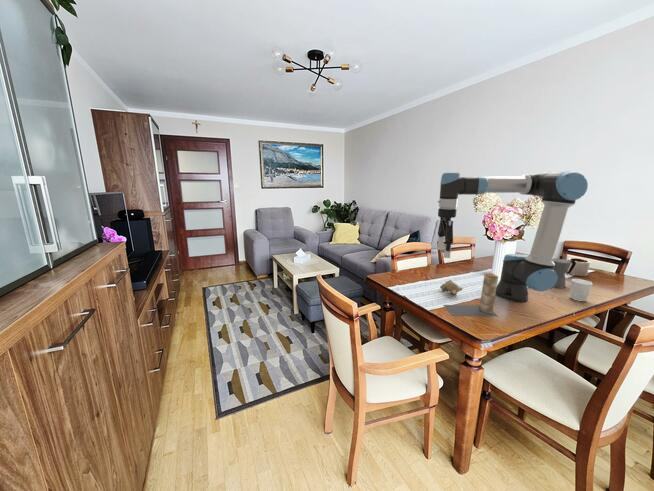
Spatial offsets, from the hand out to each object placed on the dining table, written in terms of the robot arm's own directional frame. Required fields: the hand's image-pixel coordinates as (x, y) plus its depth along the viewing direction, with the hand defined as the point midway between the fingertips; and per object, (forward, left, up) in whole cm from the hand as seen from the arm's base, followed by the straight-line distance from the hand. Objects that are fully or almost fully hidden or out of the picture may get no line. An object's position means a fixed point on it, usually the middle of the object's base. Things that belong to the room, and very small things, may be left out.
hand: (443, 253), depth 129 cm
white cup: (-77, -11, -27) cm, 83 cm away
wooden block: (-21, +4, -27) cm, 34 cm away
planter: (-110, -51, -27) cm, 125 cm away
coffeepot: (-82, -31, -27) cm, 92 cm away
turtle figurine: (-13, -16, -27) cm, 34 cm away
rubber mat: (-14, +4, -27) cm, 31 cm away
